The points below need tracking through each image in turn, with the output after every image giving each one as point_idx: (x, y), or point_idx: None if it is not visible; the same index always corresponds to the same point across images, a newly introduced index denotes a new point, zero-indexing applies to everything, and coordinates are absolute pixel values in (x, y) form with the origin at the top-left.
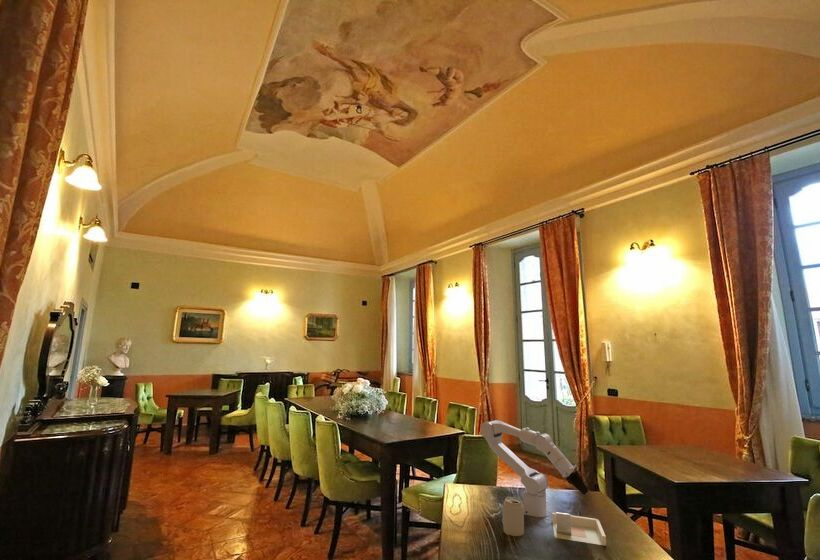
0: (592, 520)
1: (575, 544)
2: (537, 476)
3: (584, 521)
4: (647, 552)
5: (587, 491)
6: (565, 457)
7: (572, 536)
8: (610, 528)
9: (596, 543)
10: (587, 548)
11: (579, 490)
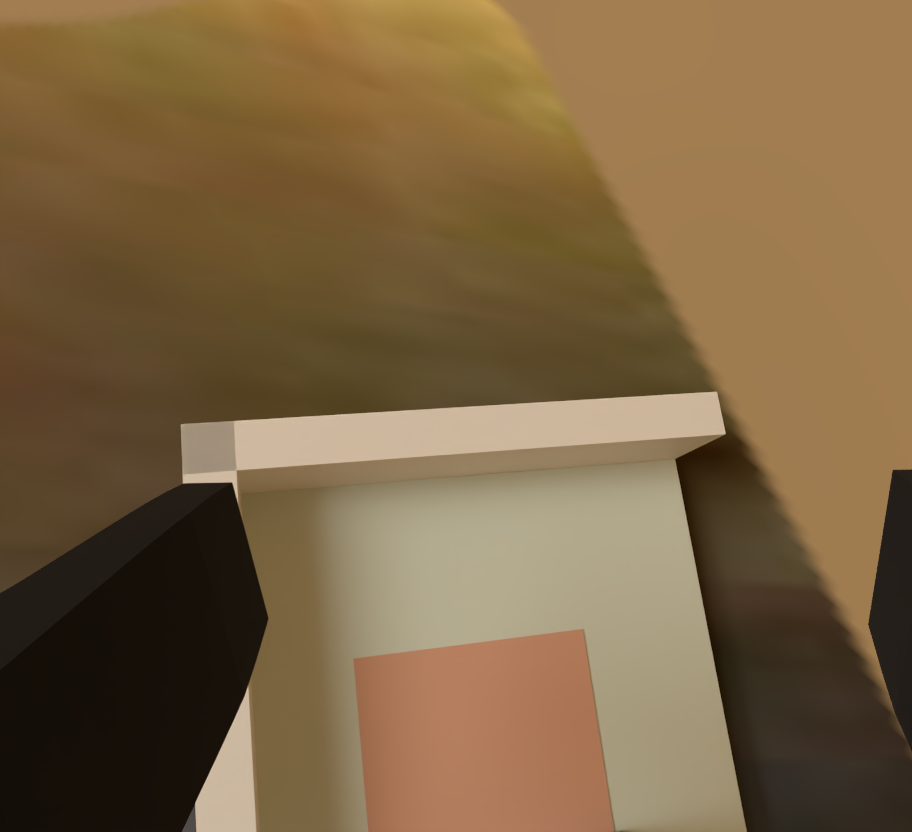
0: None
1: None
2: None
3: None
4: (526, 69)
5: (233, 503)
6: None
7: (640, 814)
8: (65, 311)
9: (672, 521)
10: (747, 628)
11: (202, 776)
